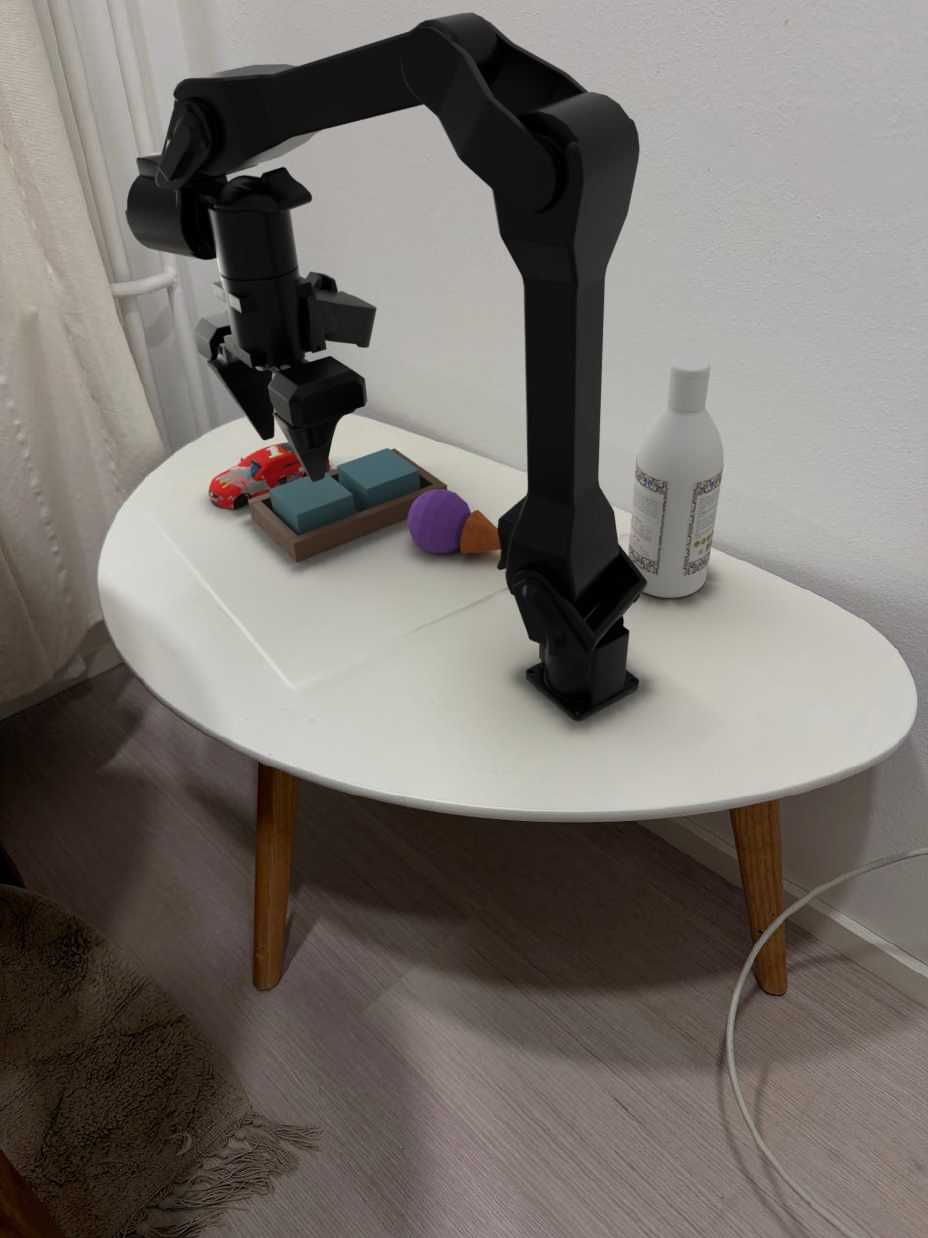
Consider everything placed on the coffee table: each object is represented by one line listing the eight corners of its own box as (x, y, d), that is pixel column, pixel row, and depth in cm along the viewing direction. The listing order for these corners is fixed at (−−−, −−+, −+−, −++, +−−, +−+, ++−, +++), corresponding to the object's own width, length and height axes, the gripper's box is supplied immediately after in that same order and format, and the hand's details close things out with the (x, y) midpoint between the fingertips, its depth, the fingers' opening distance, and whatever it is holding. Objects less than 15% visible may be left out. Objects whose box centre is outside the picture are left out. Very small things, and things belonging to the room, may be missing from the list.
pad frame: (448, 507, 93) (447, 484, 91) (297, 567, 85) (293, 543, 84) (396, 469, 99) (394, 447, 98) (252, 522, 92) (247, 499, 90)
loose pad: (357, 525, 90) (353, 494, 88) (302, 546, 87) (296, 515, 85) (328, 500, 94) (323, 470, 91) (274, 520, 91) (268, 489, 89)
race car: (223, 520, 93) (214, 485, 90) (202, 498, 96) (194, 464, 94) (338, 478, 98) (333, 445, 96) (315, 459, 102) (309, 426, 99)
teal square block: (421, 500, 93) (419, 469, 91) (370, 520, 90) (366, 489, 88) (390, 477, 97) (387, 447, 95) (340, 495, 94) (336, 465, 92)
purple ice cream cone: (600, 578, 75) (392, 508, 82) (596, 625, 80) (399, 555, 87) (627, 532, 79) (425, 468, 86) (622, 579, 83) (430, 515, 90)
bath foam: (703, 557, 84) (734, 345, 72) (707, 603, 79) (742, 382, 66) (627, 553, 85) (644, 343, 73) (625, 598, 80) (644, 380, 67)
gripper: (420, 275, 65) (433, 471, 74) (299, 220, 77) (324, 395, 87) (276, 312, 60) (310, 517, 70) (172, 248, 72) (213, 429, 82)
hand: (292, 458), depth 77 cm, fingers open, 9 cm apart
